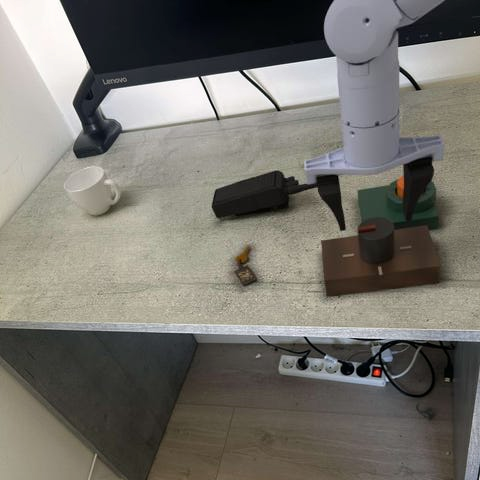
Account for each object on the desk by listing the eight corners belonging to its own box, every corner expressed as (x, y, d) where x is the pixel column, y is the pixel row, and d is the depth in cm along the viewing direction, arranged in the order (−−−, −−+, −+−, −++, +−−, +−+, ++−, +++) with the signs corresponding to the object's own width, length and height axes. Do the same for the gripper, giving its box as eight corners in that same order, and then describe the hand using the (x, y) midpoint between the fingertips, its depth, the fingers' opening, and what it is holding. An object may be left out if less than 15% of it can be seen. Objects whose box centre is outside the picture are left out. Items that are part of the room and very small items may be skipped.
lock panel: (425, 240, 67) (426, 222, 65) (439, 284, 61) (440, 266, 59) (323, 255, 70) (320, 238, 68) (326, 298, 64) (324, 281, 62)
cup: (91, 197, 97) (74, 168, 92) (135, 194, 94) (121, 163, 89) (74, 222, 92) (56, 192, 87) (120, 220, 89) (104, 188, 84)
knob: (391, 238, 64) (391, 212, 61) (396, 261, 62) (396, 234, 58) (357, 243, 65) (355, 217, 62) (361, 265, 62) (359, 240, 59)
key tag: (257, 282, 69) (256, 279, 69) (237, 287, 70) (236, 284, 69) (249, 246, 75) (248, 243, 74) (231, 251, 75) (230, 248, 75)
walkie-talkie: (218, 188, 84) (334, 160, 78) (224, 224, 84) (340, 199, 78) (205, 182, 78) (329, 151, 72) (211, 220, 78) (336, 193, 72)
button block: (427, 190, 74) (428, 167, 71) (439, 228, 68) (441, 204, 65) (358, 201, 76) (356, 179, 73) (364, 239, 70) (363, 216, 67)
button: (421, 182, 70) (422, 171, 68) (426, 197, 67) (426, 186, 66) (395, 186, 71) (395, 176, 69) (399, 201, 68) (399, 190, 67)
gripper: (436, 80, 51) (430, 191, 60) (297, 110, 54) (312, 210, 63) (452, 113, 46) (443, 226, 56) (299, 143, 49) (315, 245, 59)
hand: (374, 220), depth 59 cm, fingers open, 7 cm apart
